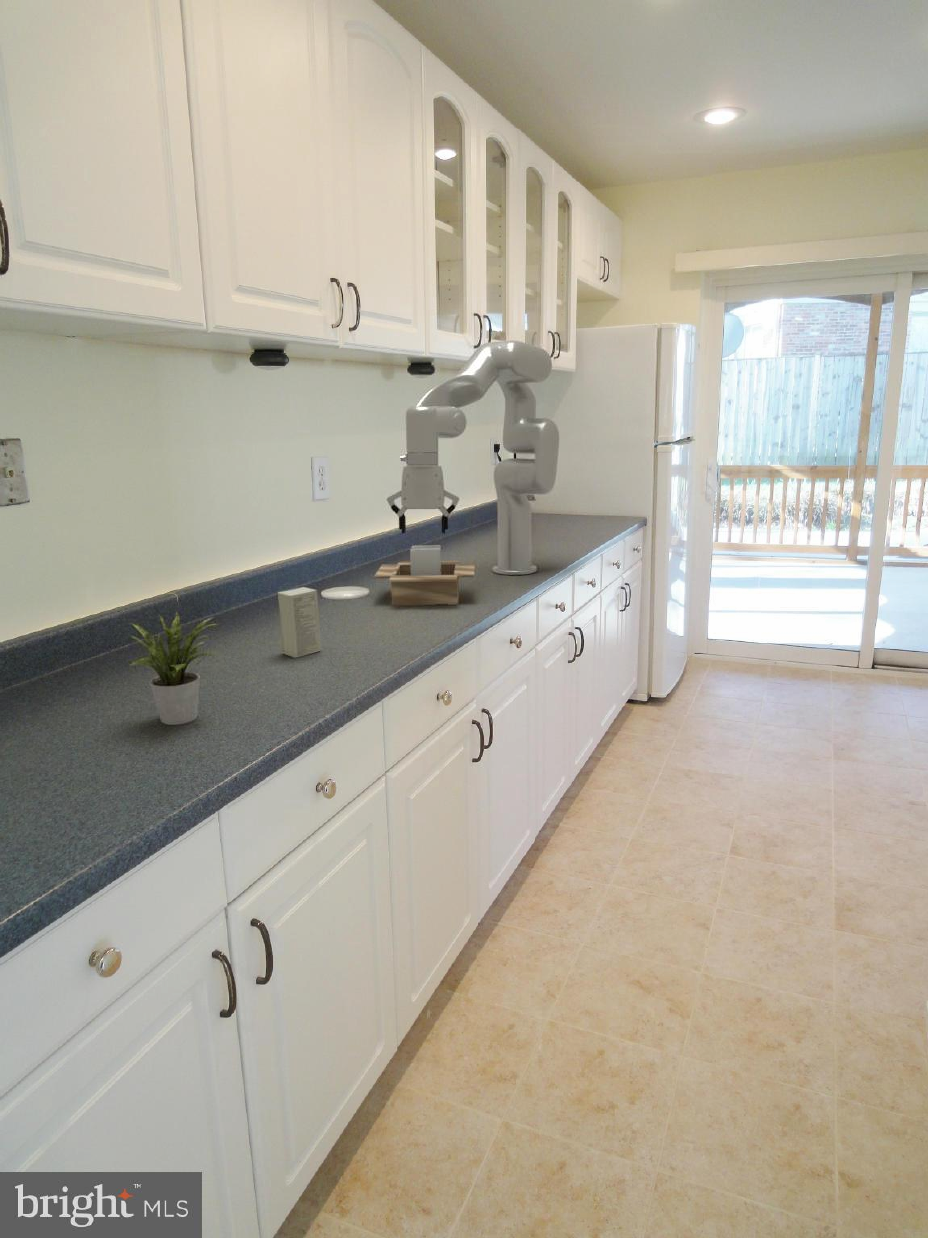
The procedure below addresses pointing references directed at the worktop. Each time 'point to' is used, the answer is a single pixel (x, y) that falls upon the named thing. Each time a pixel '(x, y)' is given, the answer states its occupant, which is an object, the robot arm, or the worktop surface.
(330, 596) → the plate
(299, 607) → the skincare box
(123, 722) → the worktop surface
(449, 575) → the carton
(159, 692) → the house plant
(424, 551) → the supplement box
